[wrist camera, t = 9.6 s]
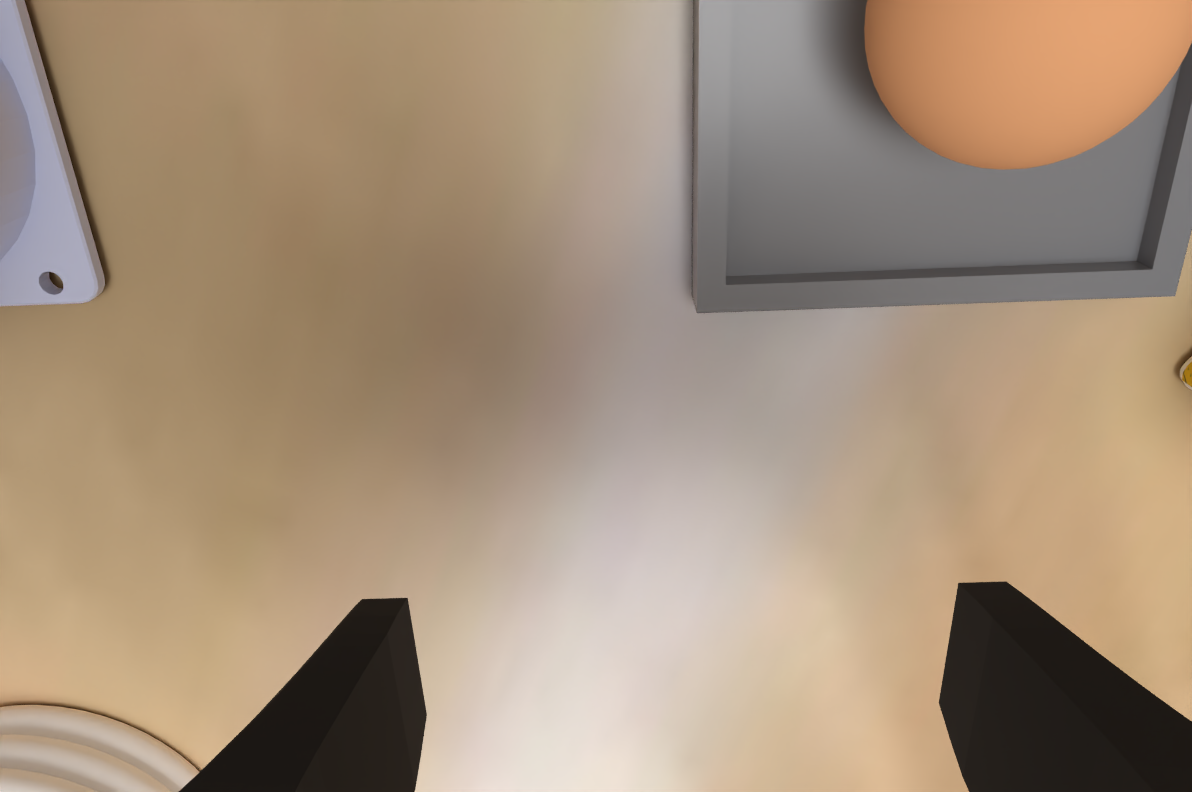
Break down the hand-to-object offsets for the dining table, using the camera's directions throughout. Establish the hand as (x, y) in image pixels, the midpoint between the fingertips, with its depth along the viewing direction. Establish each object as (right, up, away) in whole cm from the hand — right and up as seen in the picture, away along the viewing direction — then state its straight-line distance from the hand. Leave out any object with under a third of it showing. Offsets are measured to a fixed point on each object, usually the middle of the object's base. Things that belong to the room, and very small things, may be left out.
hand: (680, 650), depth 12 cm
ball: (+6, +11, +5) cm, 13 cm away
